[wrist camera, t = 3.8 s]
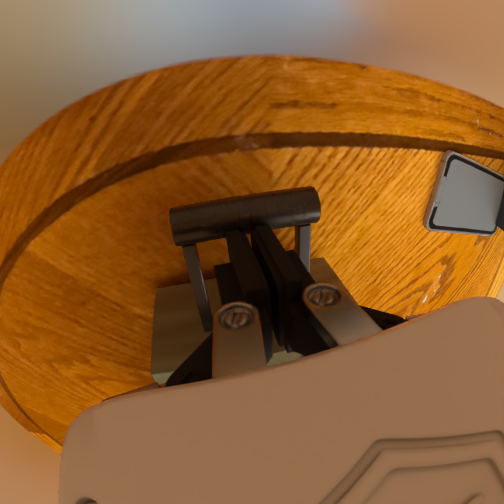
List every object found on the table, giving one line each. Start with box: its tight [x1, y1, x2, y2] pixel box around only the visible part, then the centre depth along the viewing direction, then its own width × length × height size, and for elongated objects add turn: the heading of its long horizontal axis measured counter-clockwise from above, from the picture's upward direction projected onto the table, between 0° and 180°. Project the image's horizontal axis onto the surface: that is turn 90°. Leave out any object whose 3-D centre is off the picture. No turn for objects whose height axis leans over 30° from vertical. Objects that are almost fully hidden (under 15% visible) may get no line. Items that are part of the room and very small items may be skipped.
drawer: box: [151, 186, 356, 385], centre depth 17 cm, size 20×11×7 cm, turn 5°
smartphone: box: [423, 150, 504, 236], centre depth 21 cm, size 7×1×15 cm
